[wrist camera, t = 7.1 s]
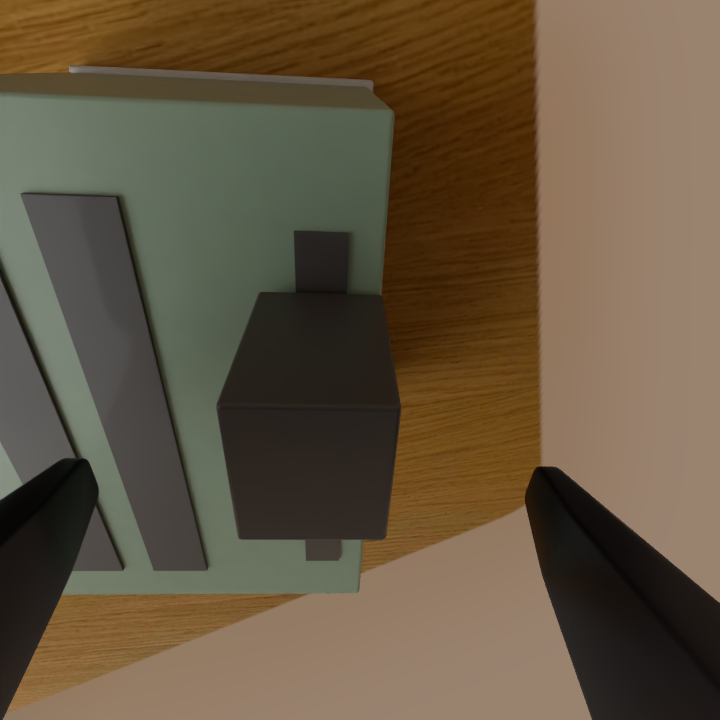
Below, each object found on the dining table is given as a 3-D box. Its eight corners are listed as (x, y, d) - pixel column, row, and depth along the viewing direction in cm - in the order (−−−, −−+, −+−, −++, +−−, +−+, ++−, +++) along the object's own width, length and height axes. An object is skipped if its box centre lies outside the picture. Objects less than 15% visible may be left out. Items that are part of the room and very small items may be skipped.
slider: (382, 293, 9) (401, 407, 6) (374, 406, 10) (385, 541, 7) (258, 290, 9) (213, 405, 6) (268, 404, 10) (237, 541, 7)
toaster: (372, 79, 16) (409, 96, 7) (357, 395, 24) (365, 600, 15) (78, 65, 16) (-302, 62, 7) (159, 392, 24) (40, 602, 14)
